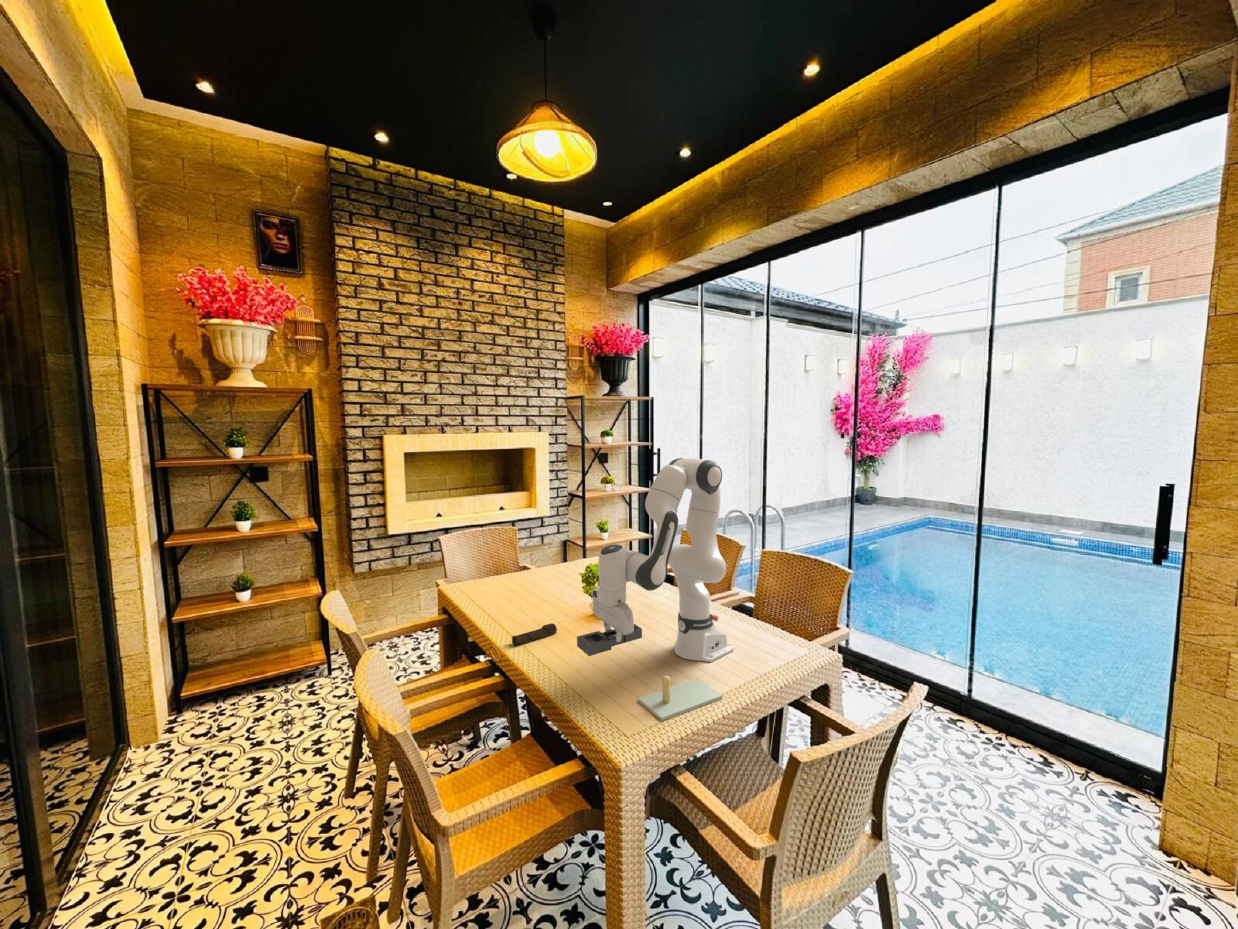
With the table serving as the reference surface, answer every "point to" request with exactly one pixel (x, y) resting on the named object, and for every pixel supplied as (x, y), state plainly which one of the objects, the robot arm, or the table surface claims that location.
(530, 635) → the hand tool
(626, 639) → the grey hollow frame
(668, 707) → the keeper board
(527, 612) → the table surface
